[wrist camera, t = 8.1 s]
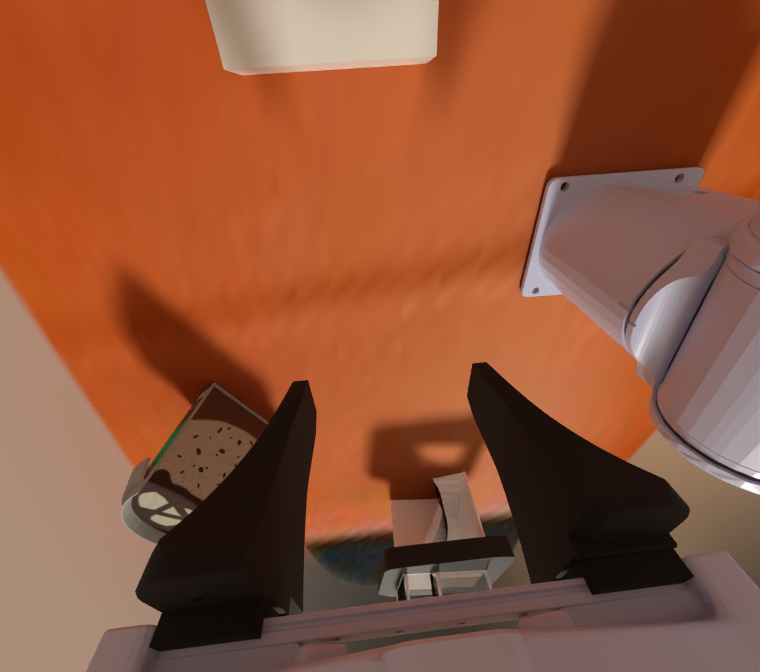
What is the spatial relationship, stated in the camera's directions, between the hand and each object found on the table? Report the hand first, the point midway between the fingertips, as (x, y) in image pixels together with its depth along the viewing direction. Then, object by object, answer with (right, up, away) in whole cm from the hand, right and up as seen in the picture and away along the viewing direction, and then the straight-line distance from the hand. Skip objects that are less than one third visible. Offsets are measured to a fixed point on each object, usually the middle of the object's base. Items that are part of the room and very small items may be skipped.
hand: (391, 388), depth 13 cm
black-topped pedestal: (+5, -17, +27) cm, 32 cm away
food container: (-15, -6, +17) cm, 23 cm away
